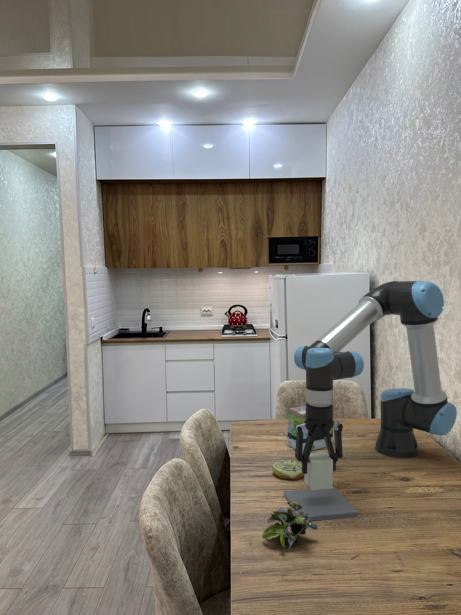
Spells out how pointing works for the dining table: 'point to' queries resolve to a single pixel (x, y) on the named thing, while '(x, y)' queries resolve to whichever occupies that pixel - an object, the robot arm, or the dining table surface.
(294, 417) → the tea box
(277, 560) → the dining table surface
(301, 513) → the passion flower
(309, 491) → the slate plate
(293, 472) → the decorated donut
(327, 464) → the sage block
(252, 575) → the dining table surface
